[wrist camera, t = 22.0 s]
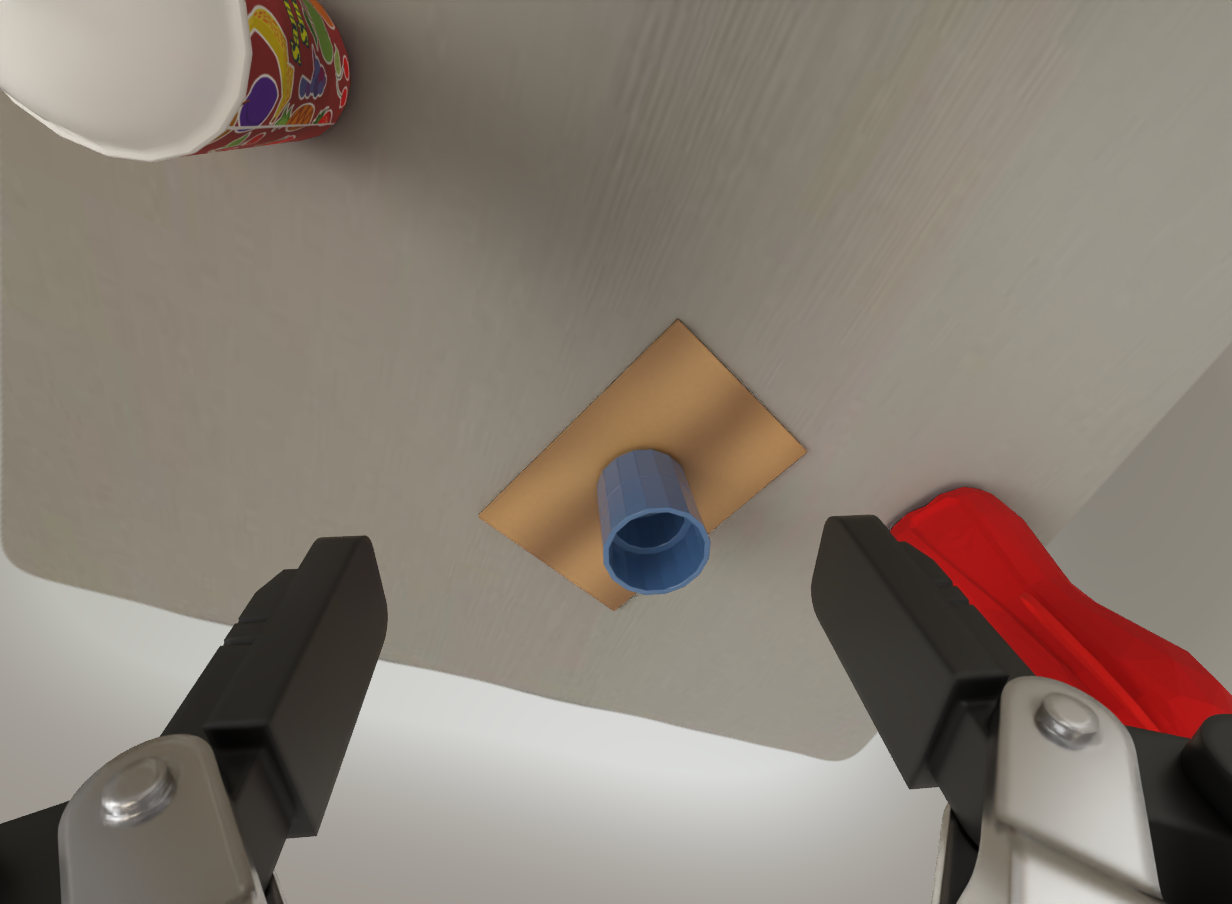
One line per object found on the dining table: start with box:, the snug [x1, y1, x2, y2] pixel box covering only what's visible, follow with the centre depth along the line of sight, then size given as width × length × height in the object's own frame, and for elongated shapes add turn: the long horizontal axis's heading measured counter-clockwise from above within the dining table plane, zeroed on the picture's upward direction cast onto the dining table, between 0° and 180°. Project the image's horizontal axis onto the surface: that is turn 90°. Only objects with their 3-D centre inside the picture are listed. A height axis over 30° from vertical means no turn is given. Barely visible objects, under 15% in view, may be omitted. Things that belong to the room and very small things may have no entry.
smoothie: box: [0, 0, 351, 163], centre depth 20 cm, size 8×8×20 cm
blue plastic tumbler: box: [597, 449, 710, 595], centre depth 38 cm, size 6×6×8 cm
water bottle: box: [890, 487, 1232, 738], centre depth 36 cm, size 9×11×25 cm
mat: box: [479, 319, 807, 611], centre depth 42 cm, size 14×20×1 cm
